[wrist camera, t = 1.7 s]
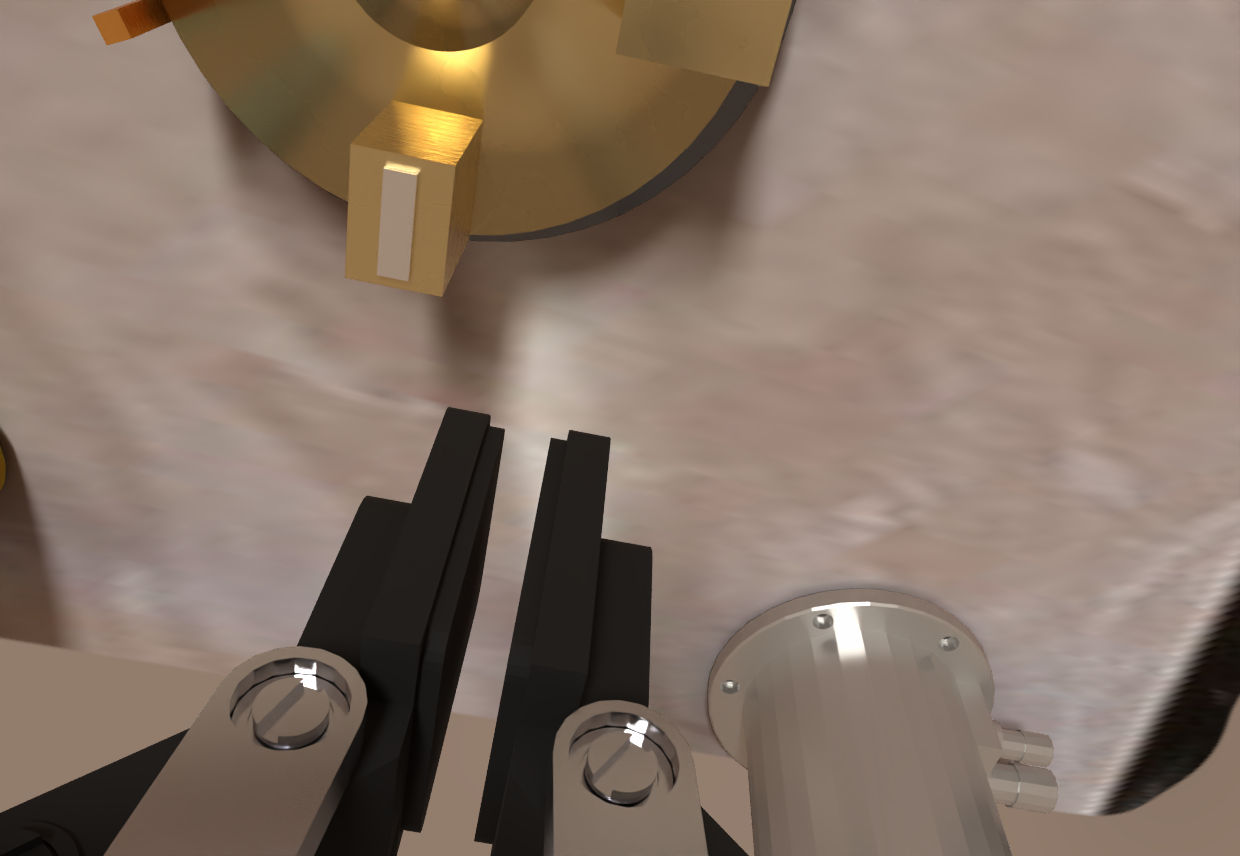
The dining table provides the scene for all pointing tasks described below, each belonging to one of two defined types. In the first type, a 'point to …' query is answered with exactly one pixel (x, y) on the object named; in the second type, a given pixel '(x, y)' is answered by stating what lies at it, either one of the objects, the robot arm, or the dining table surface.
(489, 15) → the gold crown turntable
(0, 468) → the bottle
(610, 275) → the dining table surface
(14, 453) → the dining table surface
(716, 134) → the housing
